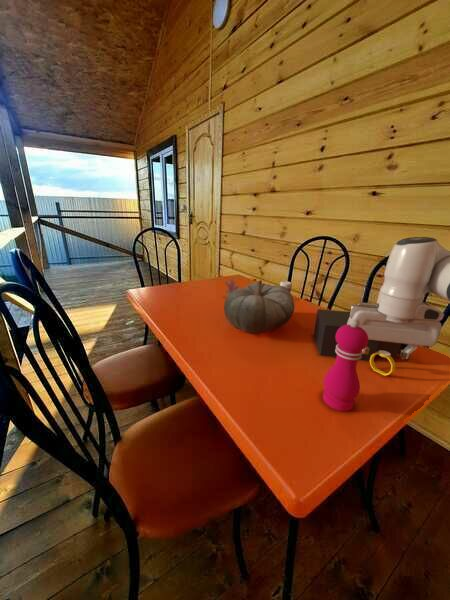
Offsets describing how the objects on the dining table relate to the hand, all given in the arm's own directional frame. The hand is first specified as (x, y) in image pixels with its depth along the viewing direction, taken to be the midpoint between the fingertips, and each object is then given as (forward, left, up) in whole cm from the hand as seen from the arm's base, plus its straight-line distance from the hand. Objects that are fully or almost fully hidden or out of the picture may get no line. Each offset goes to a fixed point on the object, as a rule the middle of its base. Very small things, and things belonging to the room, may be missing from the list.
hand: (383, 355), depth 66 cm
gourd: (+34, -21, -5) cm, 40 cm away
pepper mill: (+14, +14, -6) cm, 20 cm away
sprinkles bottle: (+24, -36, -6) cm, 44 cm away
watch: (0, 0, -6) cm, 6 cm away
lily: (+47, -49, -6) cm, 68 cm away
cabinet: (+7, -12, -5) cm, 15 cm away
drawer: (-5, -12, -4) cm, 14 cm away
